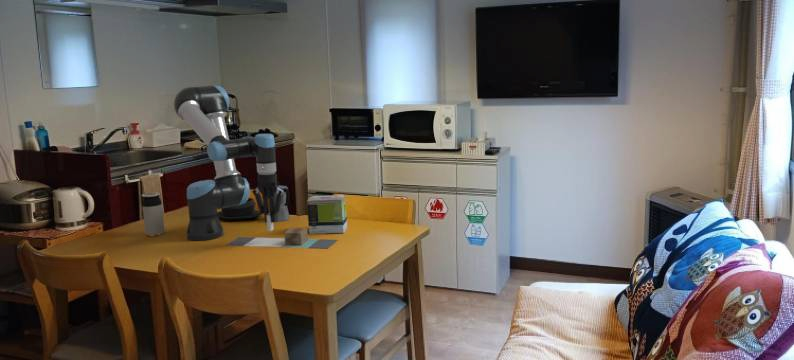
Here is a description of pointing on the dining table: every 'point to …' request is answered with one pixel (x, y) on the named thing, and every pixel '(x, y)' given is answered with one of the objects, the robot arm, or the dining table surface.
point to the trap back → (240, 241)
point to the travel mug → (152, 214)
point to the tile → (266, 242)
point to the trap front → (323, 244)
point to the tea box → (327, 214)
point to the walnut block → (296, 236)
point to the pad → (305, 245)
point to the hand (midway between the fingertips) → (270, 230)
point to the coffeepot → (282, 205)
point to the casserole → (240, 211)
